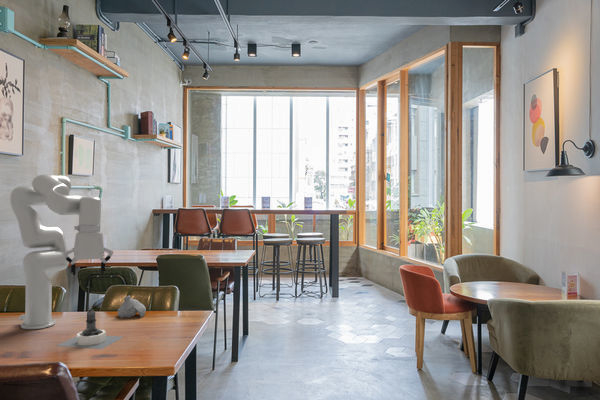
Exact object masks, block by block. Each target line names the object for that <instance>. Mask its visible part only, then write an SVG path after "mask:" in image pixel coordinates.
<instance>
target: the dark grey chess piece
mask: <svg viewBox="0 0 600 400" xmlns="http://www.w3.org/2000/svg"><path fill="white" fill-rule="evenodd" d="M89 309H90V310H88V311H87V312H86V320H85V322H86V328H85V329H84V330H82V331H81V332H82V333H83V335H84V336H94V335H98V333H99V331H100V328H97V326H96V325H97V324H96V321H97V319H96V311H95V310H94V309H93V308H89Z"/></svg>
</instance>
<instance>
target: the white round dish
mask: <svg viewBox="0 0 600 400" xmlns="http://www.w3.org/2000/svg"><path fill="white" fill-rule="evenodd" d="M99 329H100V328H99ZM106 333H107V332H106V331H105V329H100V331H99V333H98V335H94V336H84V335H83V333H82V331H79V332H78V333H76V336H77V343H78V345H94V344H100V343H101V342H103V341H105V340H106V336H107V334H106Z"/></svg>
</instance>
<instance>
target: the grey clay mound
mask: <svg viewBox="0 0 600 400" xmlns="http://www.w3.org/2000/svg"><path fill="white" fill-rule="evenodd" d="M123 300H124V301H123V302H122V303H121V305H120V306H119V308H118V309H117V316H118V317H119V318H120V319H122V318H123V319H124V318H127V319H128V318H132V317H134V316H135V315H136V314H138V315H139V317H140V318H143V317H144V316H145V314H146V311H147V309H146V308H147V307H146V306H145V305H144V304H143V303H141V302H140V301H139V300H137V299H135V298H132V296H131V295H127V296H125V297H123Z"/></svg>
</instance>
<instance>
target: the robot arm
mask: <svg viewBox="0 0 600 400" xmlns="http://www.w3.org/2000/svg"><path fill="white" fill-rule="evenodd" d="M71 189H72V182H71V180H70V179H69V177H67V176H65V175H60V174H39V175H37V176H35V177H34V178H33V179H32V181H31V185H21V186H16V187H15V188H13V189H12V190H11V193H10V198H9V199H10V207H11V210H12V211H13V214H14V215H15V217H16V220H17V222H18V227H19V232H20V237H21V240H22V244H23V246H24V247H25V249H28V250H35V251H30V252H28V253H27V254H25V255H24V256H23V259H22V266H23V272H24V279H25V308H24V309H25V310H24V312H25V314H24V313H23V314H20V316H19V317H18V321H22V323H21V324H20V328H21V329H23V330H39V329H40V330H41V329H47V328H49V327H52V326H54V325H56V319H53V318H52V299H53V297H52V293H53V291H52V289H53V288H52V286H53V285H52V281H51V279H50V278H49V276H48V275H47V273H52V272H59V271H60V272H61V271H63V270H66V269H67V268H68V267H69V263H70V273H72V275H73V276H75V275H76V268H77V267H76V265H77V264H76V262H77V261H79V260H80V261H81V260H82V261H83V260H84V261H85V260H87V261H88V260H100V261H101V262H100V274H101V275H104V272H106V263H107V262H108V261H109V260H110V259H111V257H112V256H113V255H114V251H113V250H111V249H109V248H107V247H105V246H104V245H105V244H104V235H103V232H101V221H102V220H101V217H102V216H101V214H102V200H101V198H100V197H98V196H97V197H96V196H90V195H89V196H88V195H78V194H77V195H76V194H75V195H71V194H70V192H71ZM32 206H47V208H48V209H49V210H50V211H51V212H54V213H55V214H57V215H61V216H76V215H77V216H78V225H74V228H73V229H74V231H75V230H76V231H78V232H76V233H75V237H74V246H73V247H72V248H70V249H68V248H67V247H68V246H67V243H66V240H65V235H64V232H63V230H62V229H61V228H60V227H58V226H55V225H54V226H53V225H47V226H45V225H43V222H42V218H41V217H42V216H41V215H40V214H39V213H38V211H36V209H34V208H33V207H32ZM39 249H40V250H39ZM42 249H43V250H42ZM45 249H46V250H45ZM104 252H105V253H107V256H106V257H104ZM71 253H73V258H71V257H70V256H69V255H70V254H71Z"/></svg>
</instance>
